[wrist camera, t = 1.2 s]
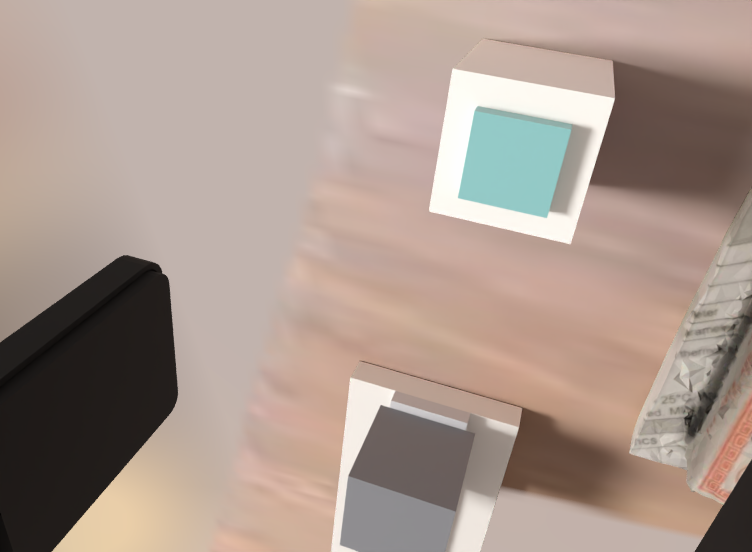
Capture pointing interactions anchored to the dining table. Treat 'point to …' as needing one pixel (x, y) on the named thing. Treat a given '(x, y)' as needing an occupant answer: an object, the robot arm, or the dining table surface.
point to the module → (522, 137)
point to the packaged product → (708, 377)
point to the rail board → (481, 456)
